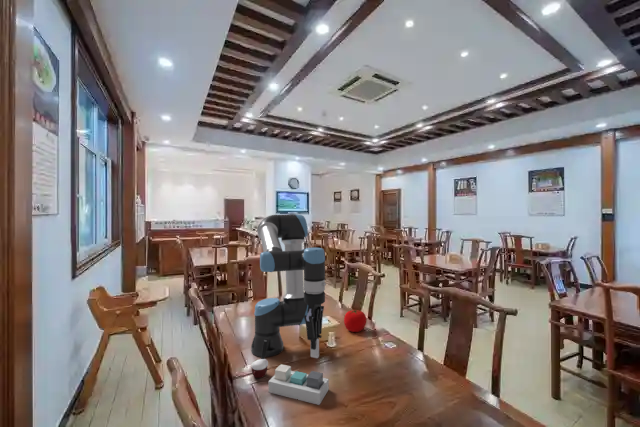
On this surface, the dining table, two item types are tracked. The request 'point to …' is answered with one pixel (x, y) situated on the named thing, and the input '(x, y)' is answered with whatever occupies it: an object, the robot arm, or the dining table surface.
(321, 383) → the charcoal key
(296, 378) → the teal key
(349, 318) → the red apple
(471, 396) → the dining table surface
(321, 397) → the console
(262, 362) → the cocoa
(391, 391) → the dining table surface
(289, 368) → the ivory key
